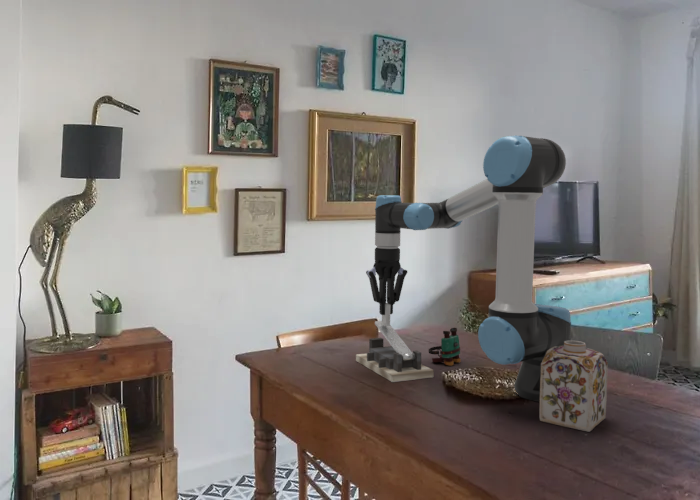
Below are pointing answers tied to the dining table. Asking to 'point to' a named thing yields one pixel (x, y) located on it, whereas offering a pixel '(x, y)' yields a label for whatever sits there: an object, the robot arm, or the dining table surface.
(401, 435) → the dining table surface
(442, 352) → the binoculars
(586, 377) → the decorative jar
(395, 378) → the heatsink mount
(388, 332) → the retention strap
